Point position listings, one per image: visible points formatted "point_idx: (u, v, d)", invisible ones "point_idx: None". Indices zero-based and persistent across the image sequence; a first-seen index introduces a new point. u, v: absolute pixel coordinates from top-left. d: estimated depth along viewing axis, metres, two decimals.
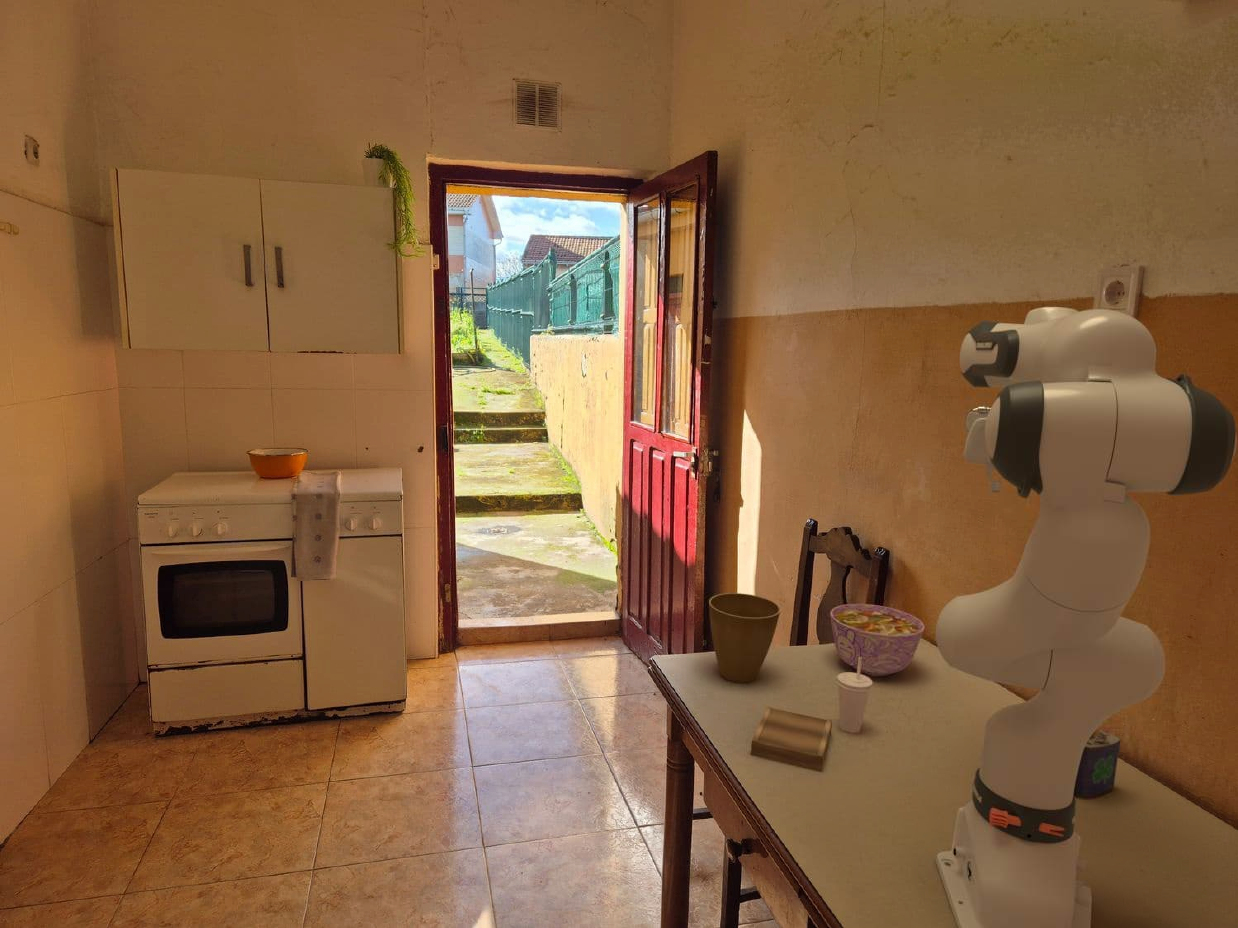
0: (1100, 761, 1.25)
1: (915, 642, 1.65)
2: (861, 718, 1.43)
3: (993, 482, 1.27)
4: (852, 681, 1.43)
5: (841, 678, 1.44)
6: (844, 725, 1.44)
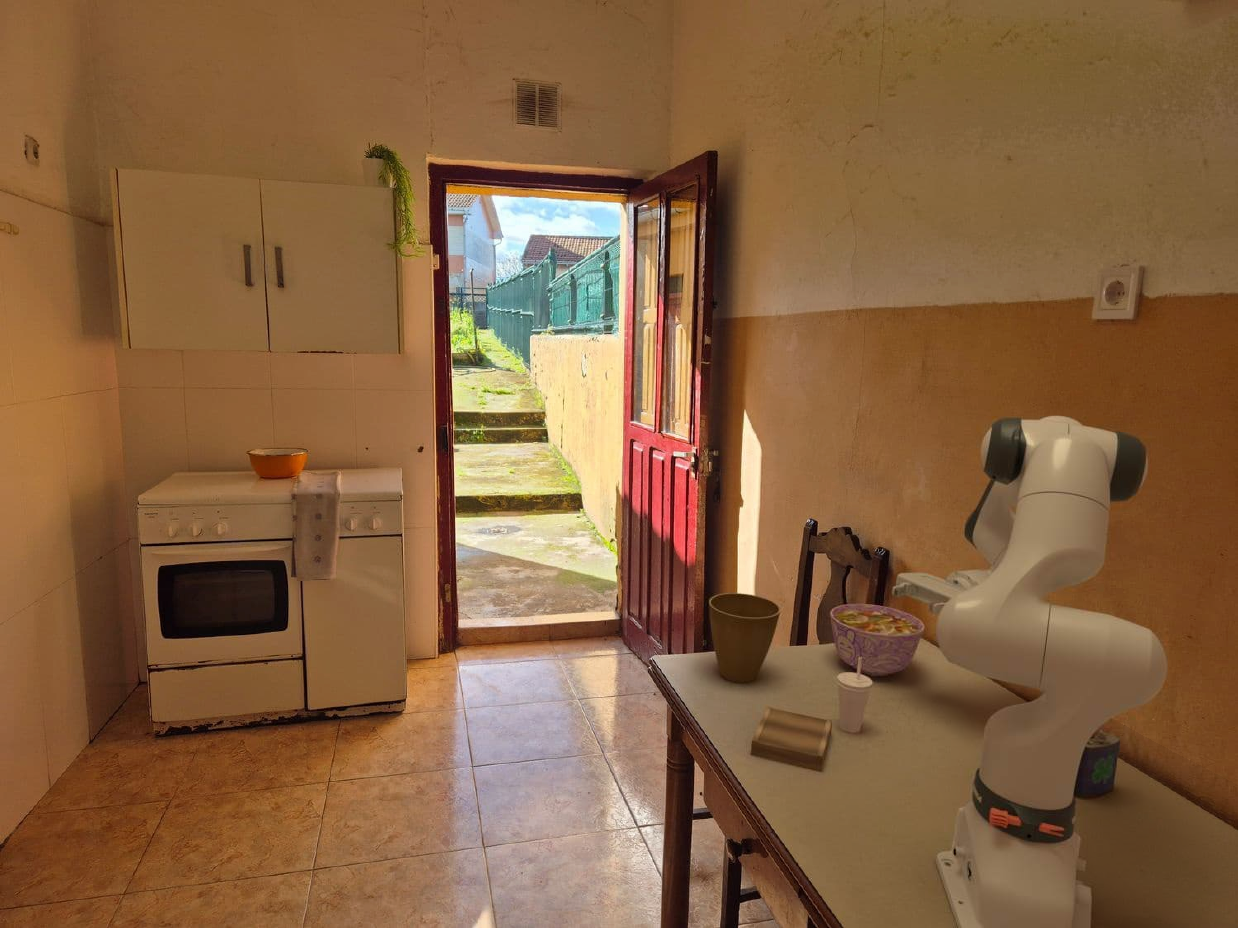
0: (1100, 761, 1.25)
1: (915, 642, 1.65)
2: (861, 718, 1.43)
3: (900, 586, 1.52)
4: (852, 681, 1.43)
5: (841, 678, 1.44)
6: (844, 725, 1.44)
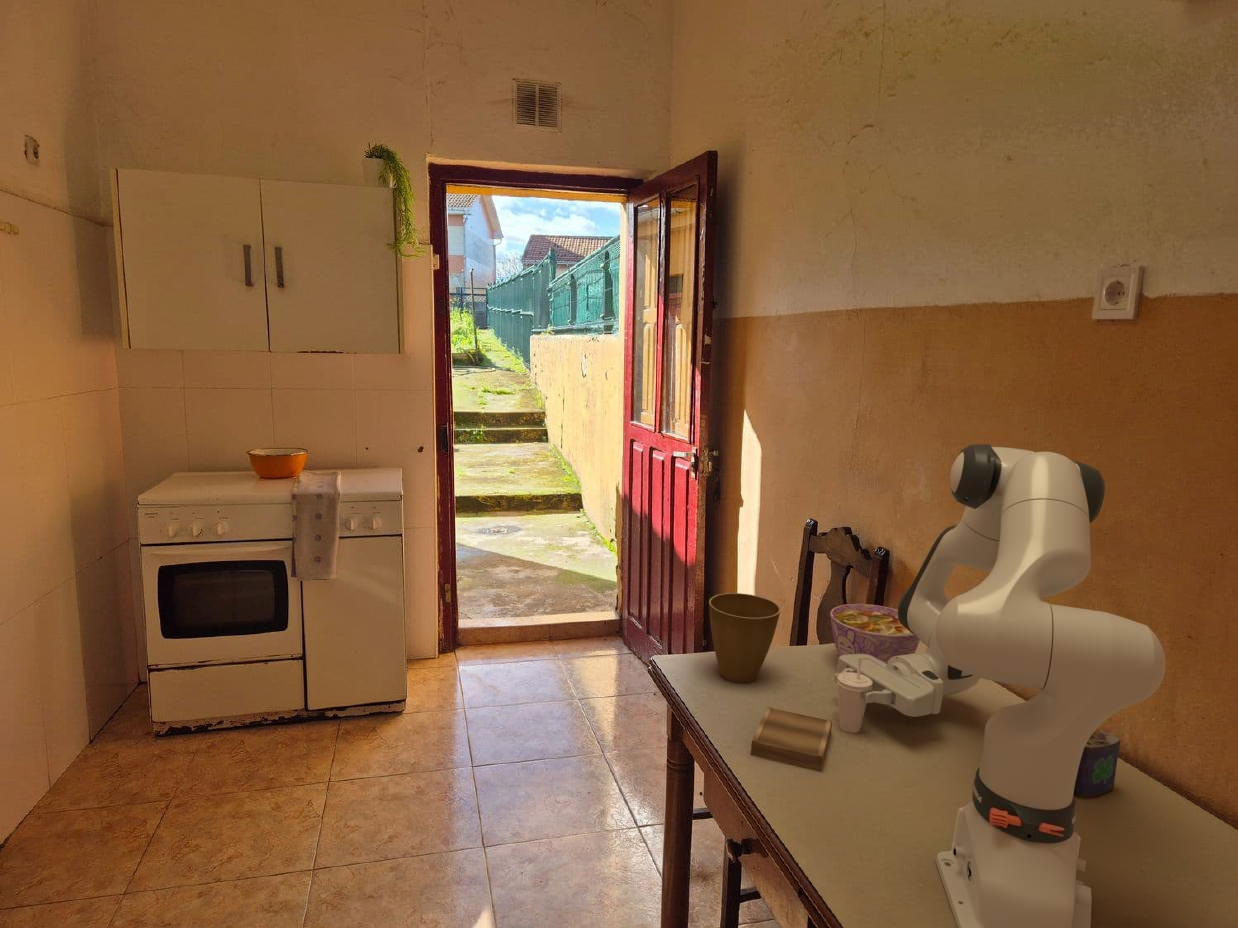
0: (1100, 761, 1.25)
1: (915, 642, 1.65)
2: (861, 718, 1.43)
3: None
4: (852, 681, 1.43)
5: (841, 678, 1.44)
6: (844, 725, 1.44)
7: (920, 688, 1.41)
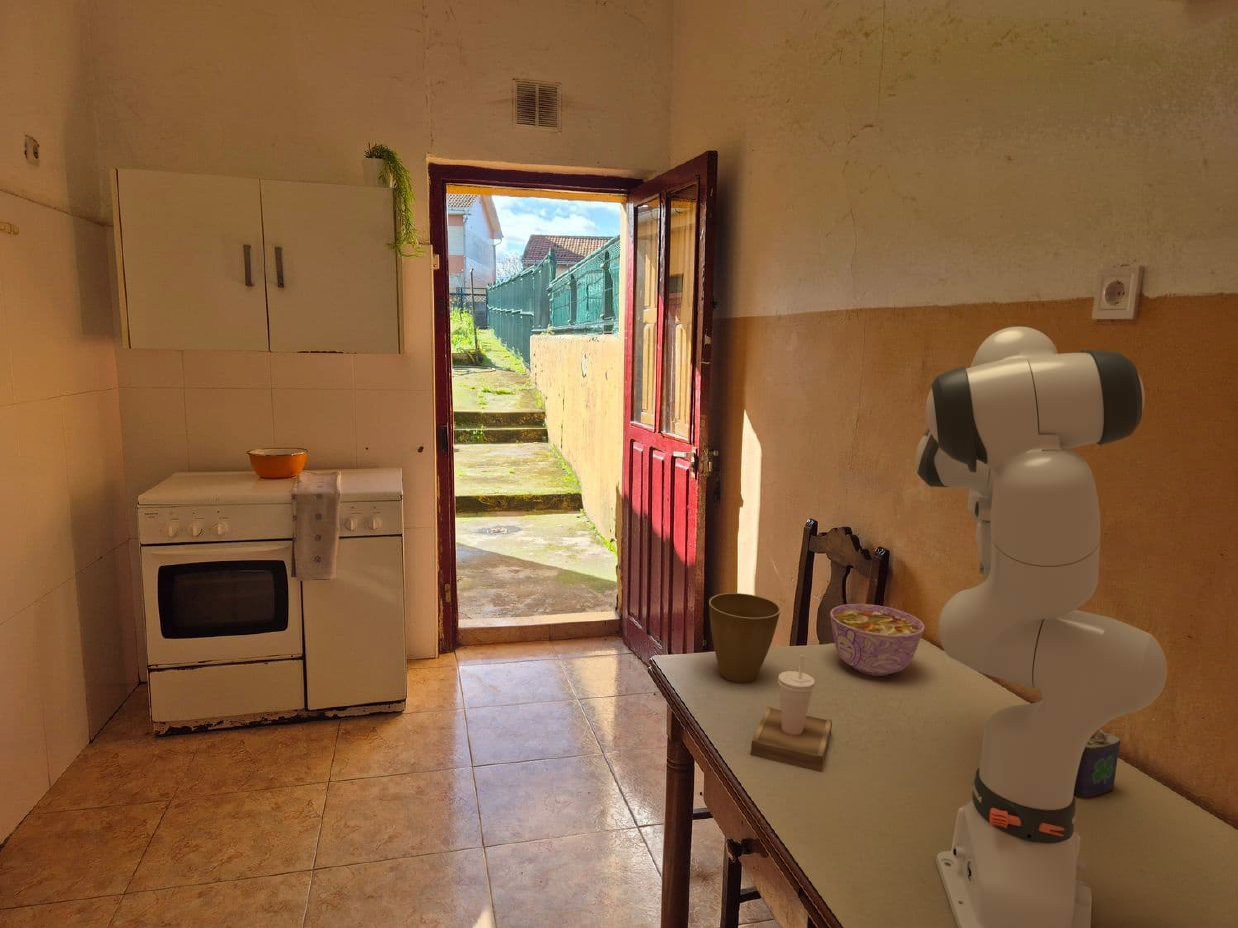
0: (1100, 761, 1.25)
1: (915, 642, 1.65)
2: (803, 719, 1.36)
3: (979, 563, 1.41)
4: (793, 680, 1.36)
5: (782, 677, 1.37)
6: (785, 726, 1.37)
7: None
